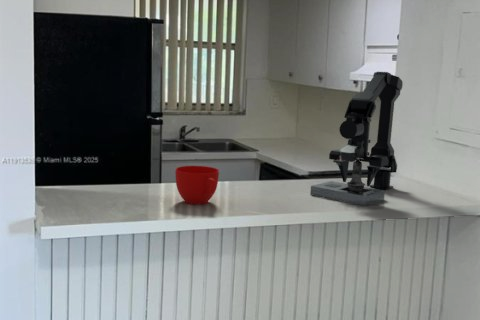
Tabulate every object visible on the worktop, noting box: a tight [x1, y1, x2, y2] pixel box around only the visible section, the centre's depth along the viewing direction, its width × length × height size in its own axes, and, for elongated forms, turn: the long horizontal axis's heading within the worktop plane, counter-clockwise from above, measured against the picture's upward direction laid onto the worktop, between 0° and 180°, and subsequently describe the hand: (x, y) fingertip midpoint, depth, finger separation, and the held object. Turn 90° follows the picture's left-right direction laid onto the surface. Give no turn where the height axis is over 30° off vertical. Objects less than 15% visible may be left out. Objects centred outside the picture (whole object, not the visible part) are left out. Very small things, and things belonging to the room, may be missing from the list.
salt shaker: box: [346, 160, 366, 194], centre depth 194 cm, size 6×6×12 cm
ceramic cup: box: [175, 165, 220, 205], centre depth 178 cm, size 13×17×10 cm
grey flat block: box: [310, 180, 385, 207], centre depth 196 cm, size 13×20×3 cm, turn 50°
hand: (356, 184), depth 194 cm, fingers closed on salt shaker, 8 cm apart
